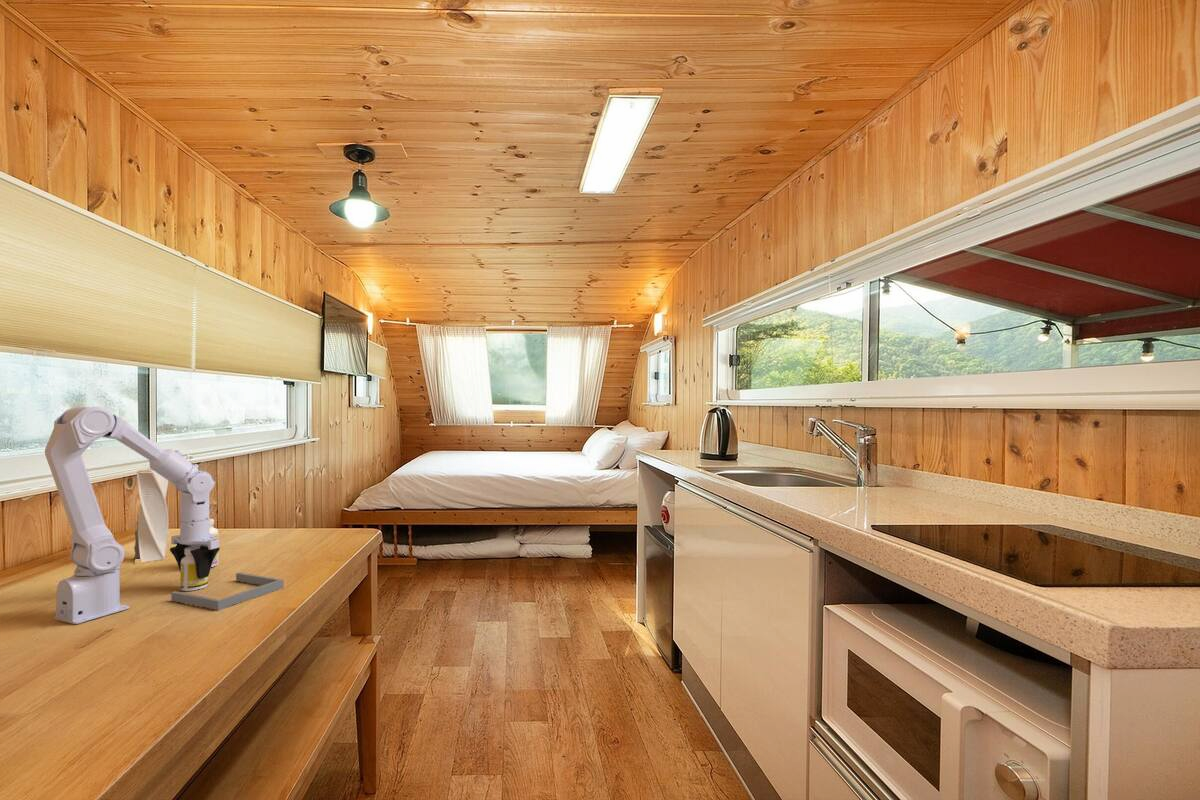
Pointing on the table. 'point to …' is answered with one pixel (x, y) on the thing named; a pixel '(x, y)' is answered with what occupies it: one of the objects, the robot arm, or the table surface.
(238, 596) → the holder
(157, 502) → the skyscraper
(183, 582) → the supplement bottle
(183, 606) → the table surface
